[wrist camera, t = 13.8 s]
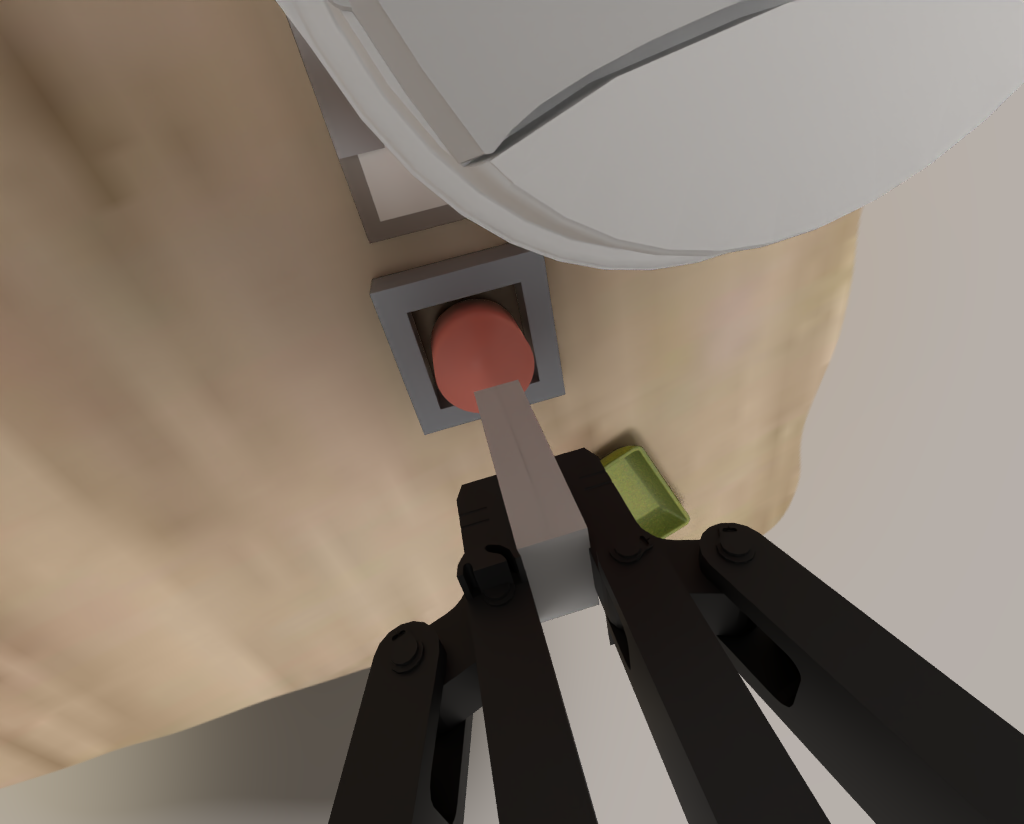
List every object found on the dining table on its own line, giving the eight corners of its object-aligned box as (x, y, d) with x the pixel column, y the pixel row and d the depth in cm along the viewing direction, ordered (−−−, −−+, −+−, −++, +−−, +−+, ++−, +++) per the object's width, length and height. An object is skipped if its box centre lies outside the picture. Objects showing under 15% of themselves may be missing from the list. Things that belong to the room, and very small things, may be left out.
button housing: (371, 279, 19) (369, 294, 18) (530, 237, 20) (542, 248, 18) (422, 412, 23) (424, 435, 21) (553, 375, 24) (565, 394, 22)
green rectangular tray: (677, 500, 32) (693, 522, 30) (573, 564, 33) (583, 589, 31) (624, 423, 27) (640, 443, 25) (506, 502, 28) (513, 526, 27)
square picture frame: (219, -176, 12) (202, -204, 11) (638, -258, 13) (660, -292, 12) (370, 240, 18) (368, 247, 17) (648, 168, 19) (663, 171, 18)
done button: (418, 312, 19) (421, 338, 17) (509, 288, 19) (524, 310, 17) (445, 391, 21) (450, 423, 19) (526, 368, 22) (541, 397, 19)
